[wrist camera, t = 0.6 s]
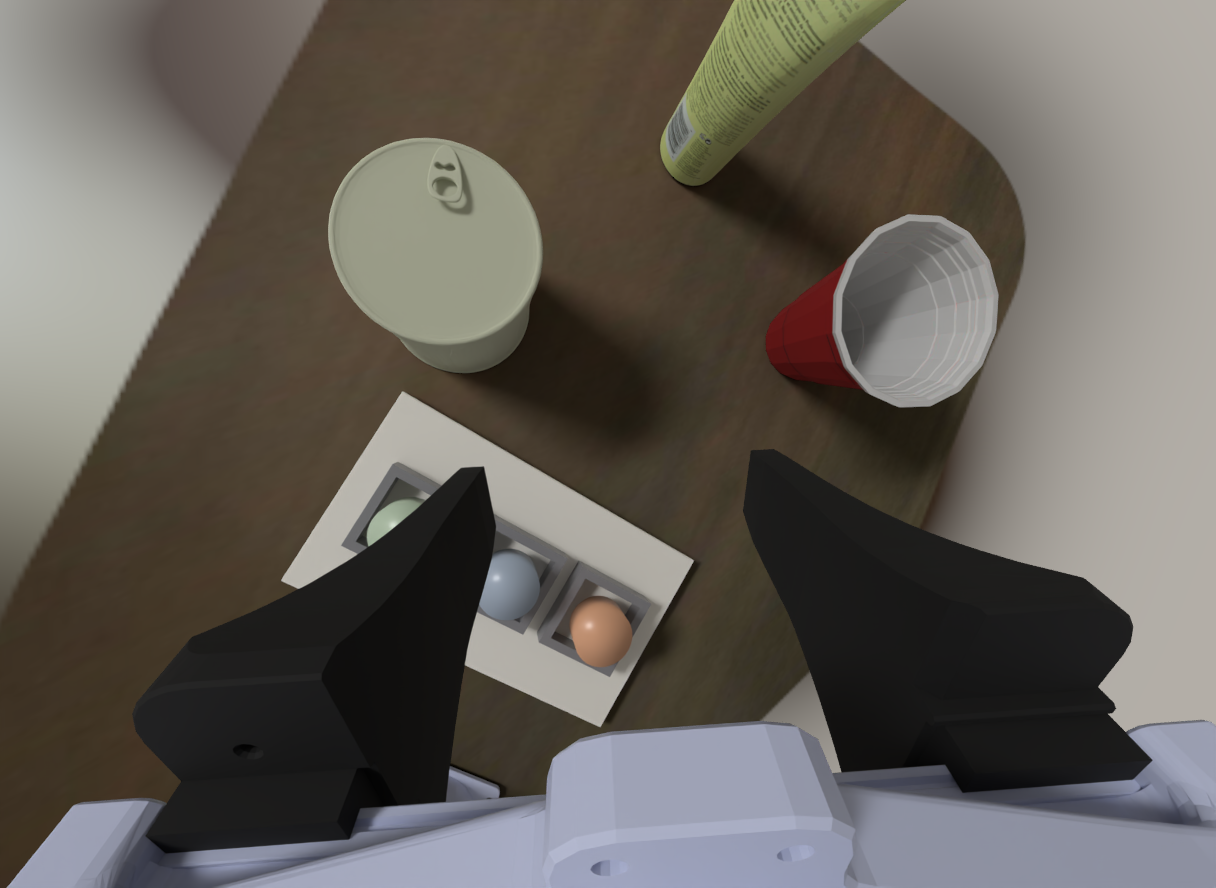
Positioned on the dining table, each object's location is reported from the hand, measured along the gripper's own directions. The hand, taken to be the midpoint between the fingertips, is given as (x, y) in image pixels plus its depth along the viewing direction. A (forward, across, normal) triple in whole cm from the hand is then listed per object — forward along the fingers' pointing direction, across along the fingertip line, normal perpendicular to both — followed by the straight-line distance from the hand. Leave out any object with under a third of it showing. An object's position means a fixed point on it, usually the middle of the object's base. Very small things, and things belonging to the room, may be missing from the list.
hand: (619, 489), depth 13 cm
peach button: (+12, +1, +19) cm, 23 cm away
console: (+15, +8, +16) cm, 23 cm away
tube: (+31, -8, -8) cm, 33 cm away
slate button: (+12, +7, +15) cm, 21 cm away
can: (+23, +9, 0) cm, 25 cm away
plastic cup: (+26, -16, +5) cm, 31 cm away
